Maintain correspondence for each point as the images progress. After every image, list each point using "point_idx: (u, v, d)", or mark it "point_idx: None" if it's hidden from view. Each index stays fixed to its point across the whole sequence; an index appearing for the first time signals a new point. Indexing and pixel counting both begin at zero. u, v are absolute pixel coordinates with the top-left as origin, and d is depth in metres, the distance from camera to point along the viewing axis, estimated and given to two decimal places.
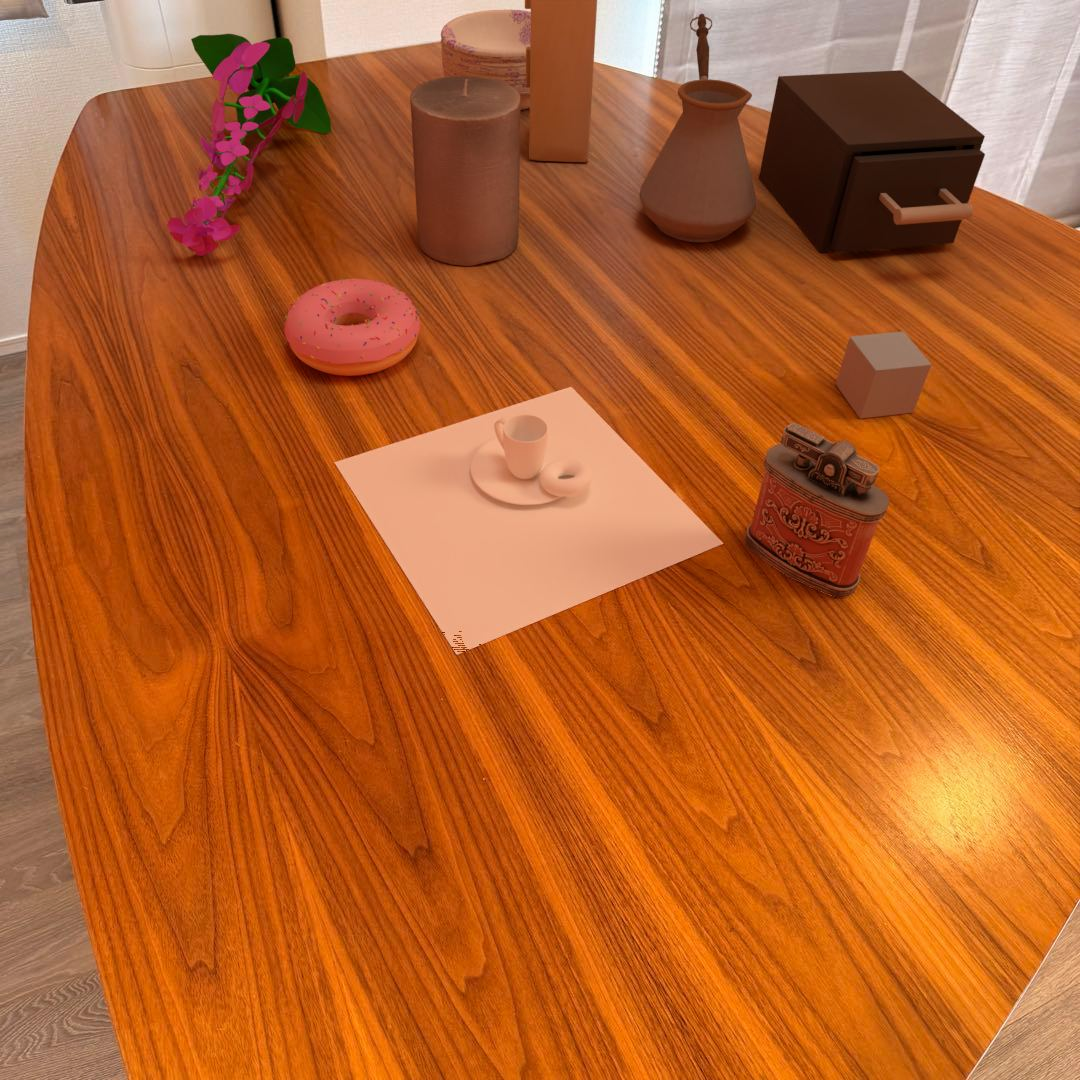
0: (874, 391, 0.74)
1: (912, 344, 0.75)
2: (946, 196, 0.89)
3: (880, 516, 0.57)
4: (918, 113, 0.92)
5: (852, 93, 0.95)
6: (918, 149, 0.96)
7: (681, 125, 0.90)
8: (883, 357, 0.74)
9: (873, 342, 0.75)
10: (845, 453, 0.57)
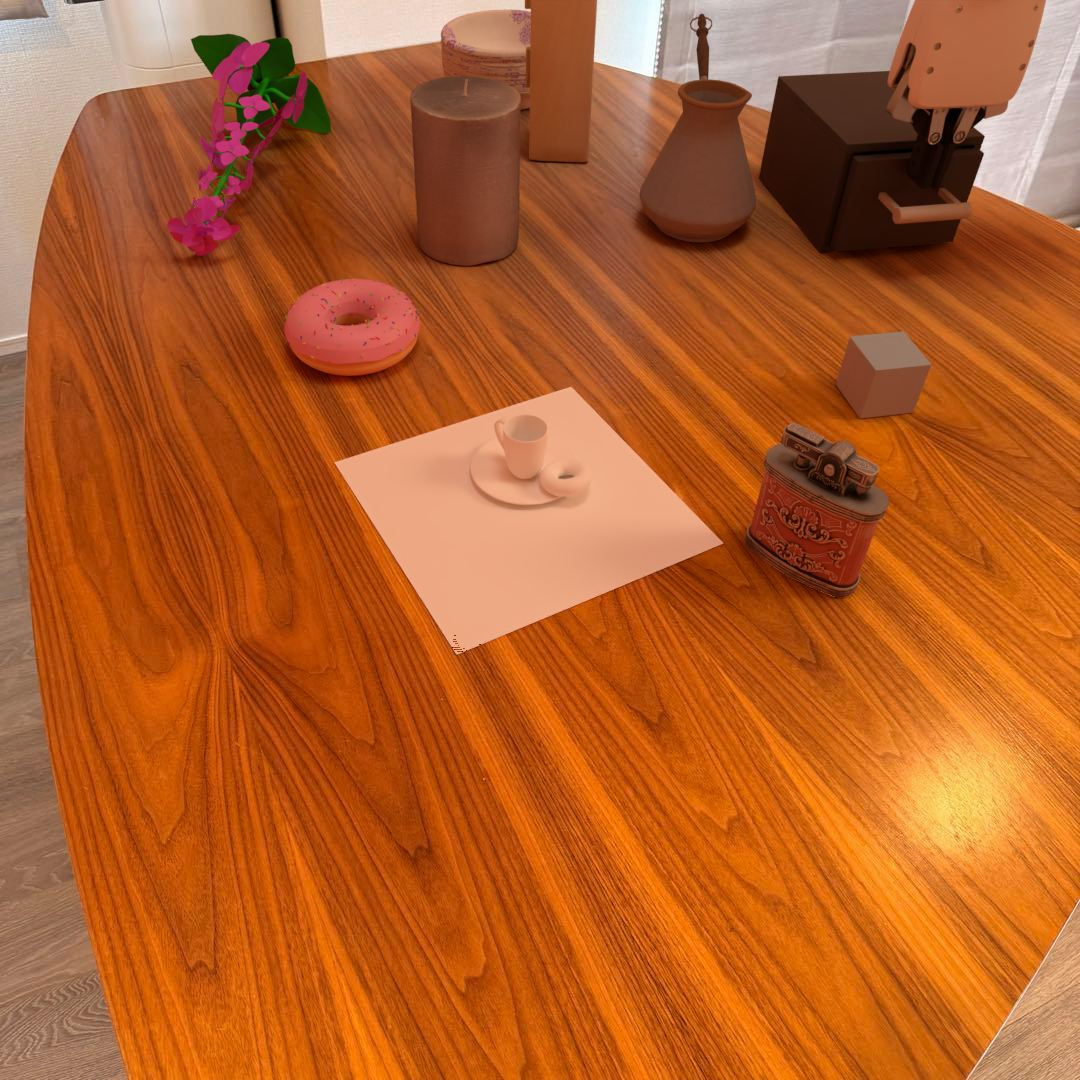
0: (874, 391, 0.74)
1: (912, 344, 0.75)
2: (945, 195, 0.89)
3: (880, 516, 0.57)
4: None
5: (852, 93, 0.95)
6: None
7: (681, 125, 0.90)
8: (883, 357, 0.74)
9: (873, 342, 0.75)
10: (845, 453, 0.57)
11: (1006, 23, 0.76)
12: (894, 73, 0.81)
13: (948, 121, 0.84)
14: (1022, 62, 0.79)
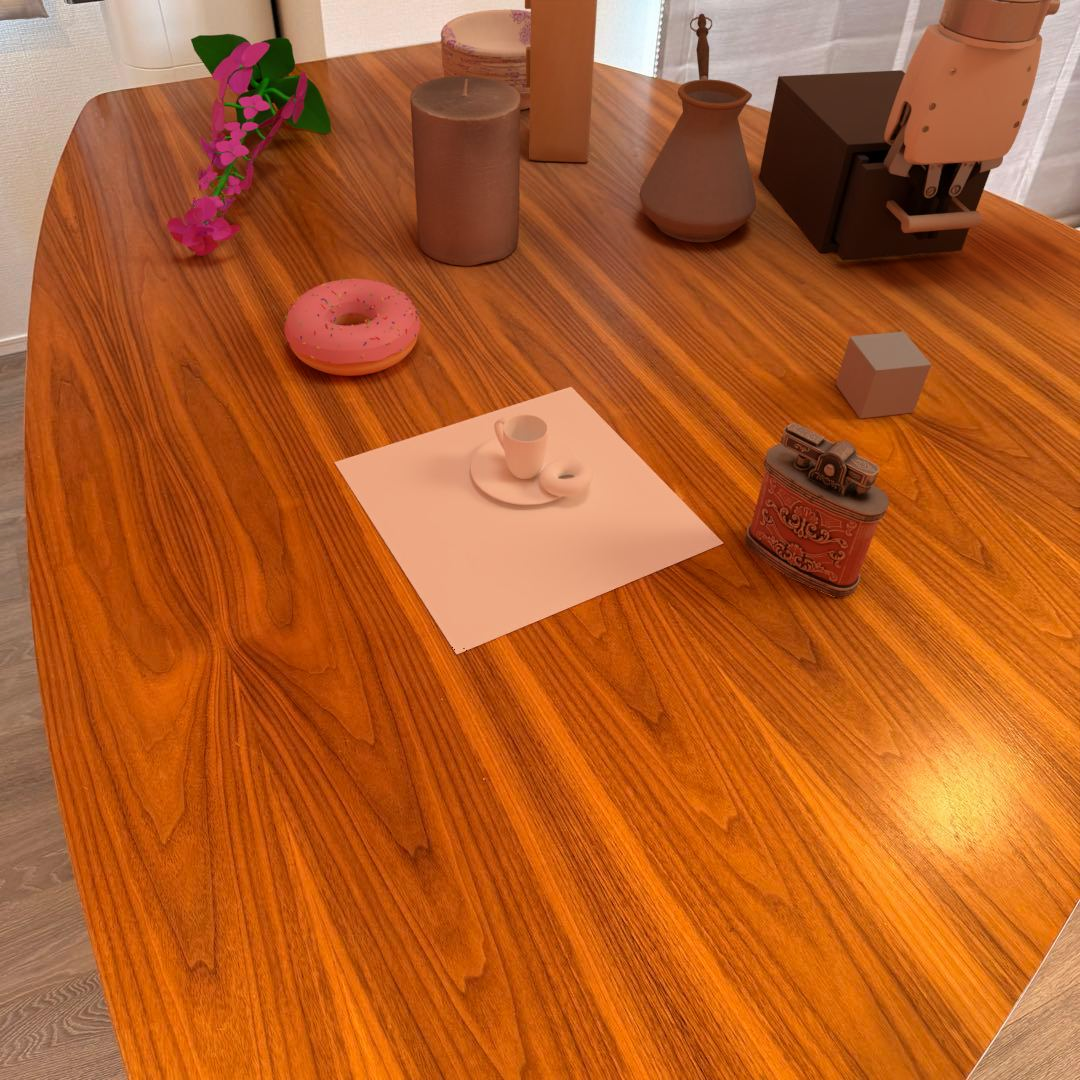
0: (874, 391, 0.74)
1: (912, 344, 0.75)
2: (954, 204, 0.88)
3: (880, 516, 0.57)
4: None
5: (852, 93, 0.95)
6: None
7: (681, 125, 0.90)
8: (883, 357, 0.74)
9: (873, 342, 0.75)
10: (845, 453, 0.57)
11: (1000, 84, 0.77)
12: (891, 129, 0.82)
13: (944, 174, 0.86)
14: (1016, 120, 0.80)
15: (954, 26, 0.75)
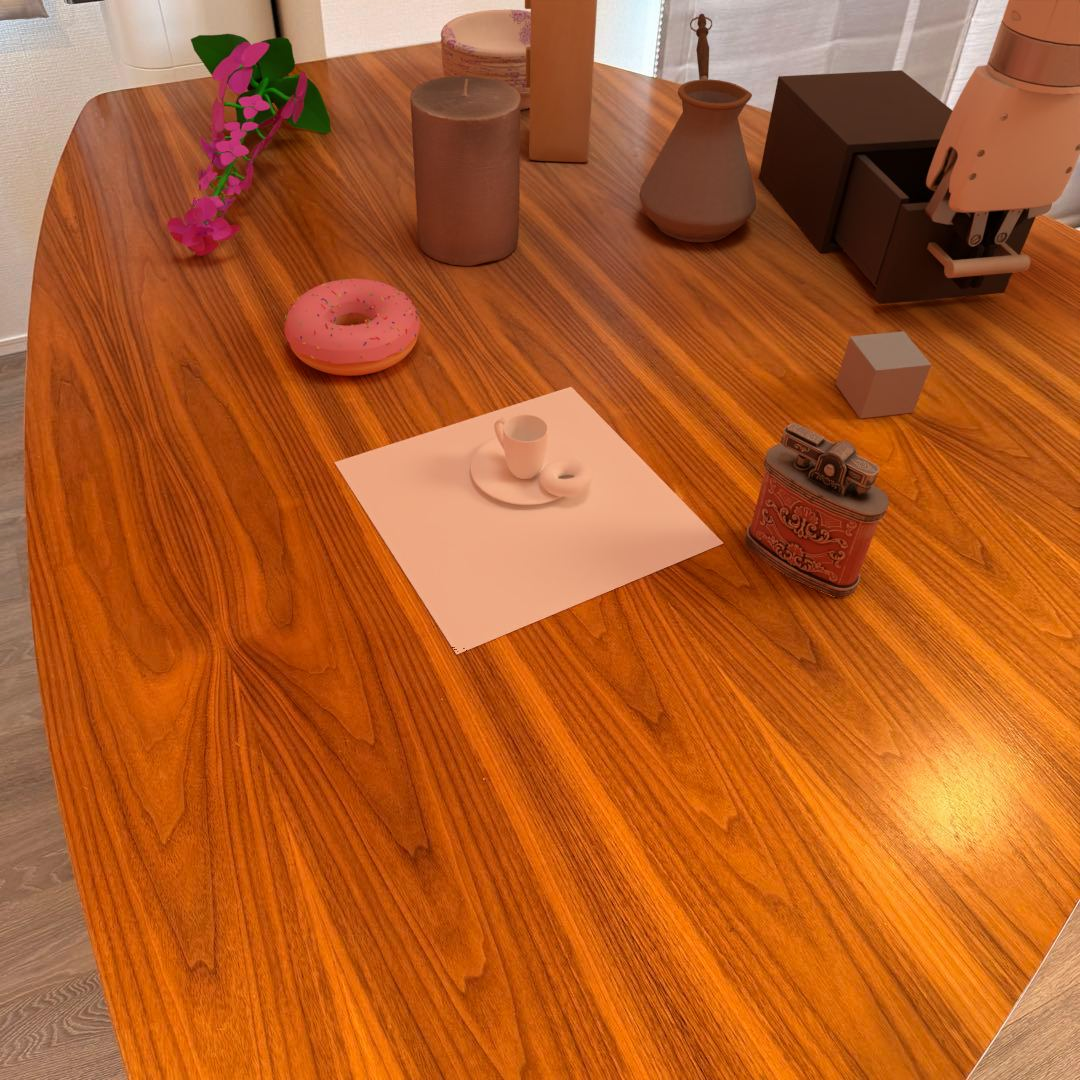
0: (874, 391, 0.74)
1: (912, 344, 0.75)
2: (1000, 245, 0.83)
3: (880, 516, 0.57)
4: (918, 113, 0.92)
5: (852, 93, 0.95)
6: None
7: (681, 125, 0.90)
8: (883, 357, 0.74)
9: (873, 342, 0.75)
10: (845, 453, 0.57)
11: (1053, 129, 0.72)
12: (934, 175, 0.77)
13: (989, 220, 0.81)
14: (1068, 165, 0.75)
15: (1006, 69, 0.70)
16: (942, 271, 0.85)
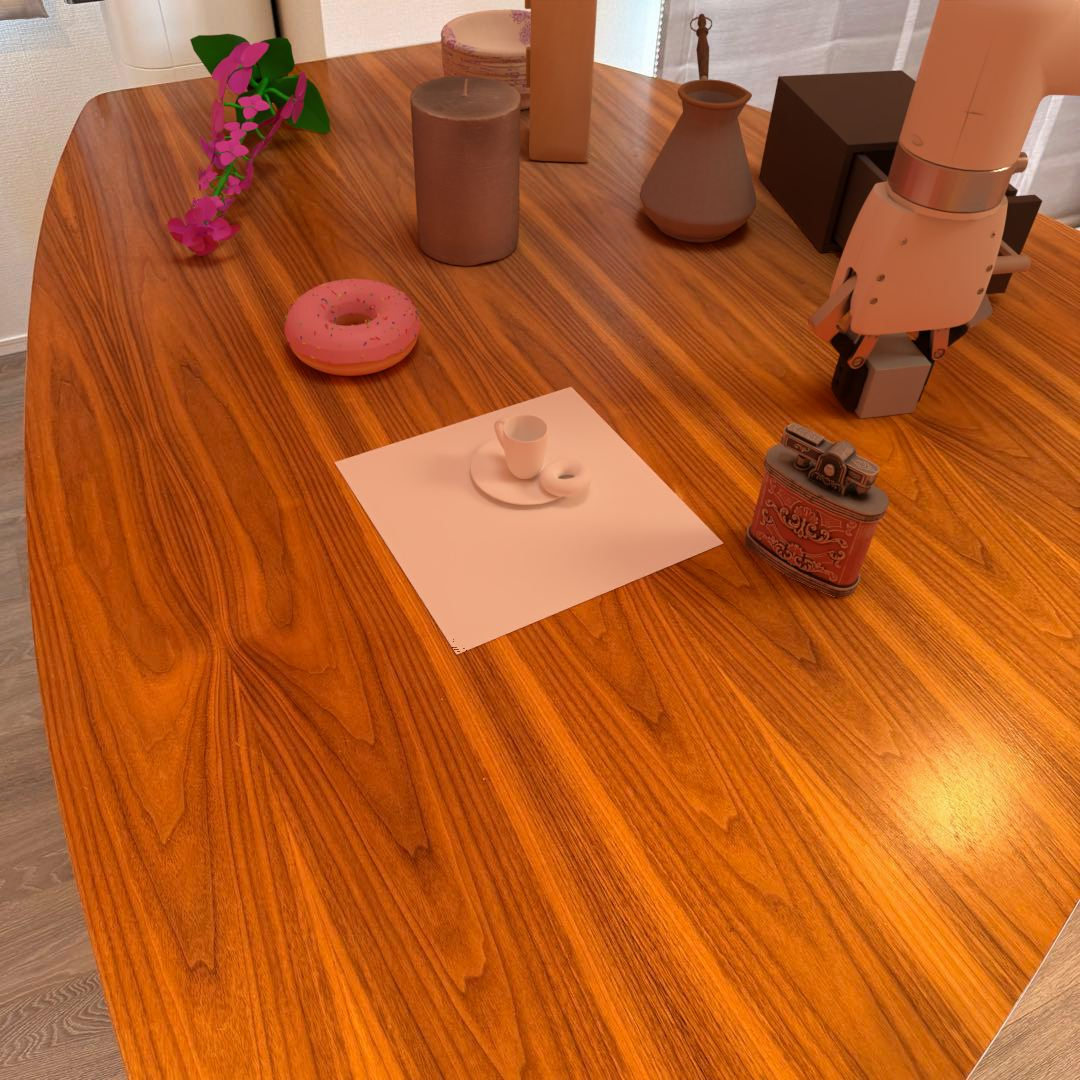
0: (874, 391, 0.74)
1: (912, 344, 0.75)
2: (1000, 246, 0.83)
3: (880, 516, 0.57)
4: None
5: (852, 93, 0.95)
6: None
7: (681, 125, 0.90)
8: (883, 357, 0.74)
9: None
10: (845, 453, 0.57)
11: (959, 252, 0.66)
12: None
13: (926, 333, 0.75)
14: (980, 287, 0.69)
15: (903, 191, 0.64)
16: None
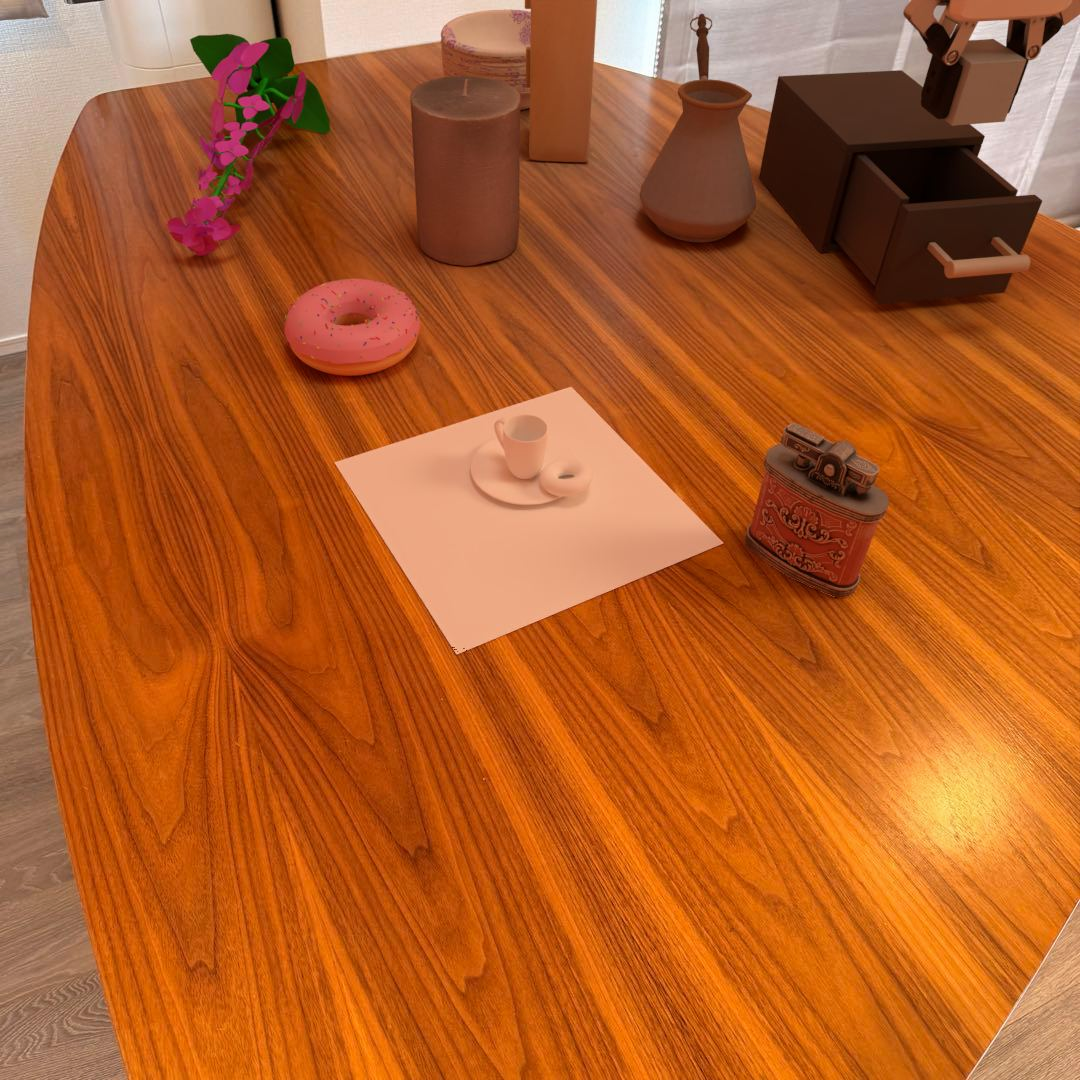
0: (968, 91, 0.73)
1: (1004, 47, 0.74)
2: (1000, 246, 0.83)
3: (880, 516, 0.57)
4: (918, 113, 0.92)
5: (852, 93, 0.95)
6: (966, 191, 0.89)
7: (681, 125, 0.90)
8: (977, 55, 0.73)
9: None
10: (845, 453, 0.57)
11: None
12: None
13: (1019, 35, 0.74)
14: None
15: None
16: (942, 271, 0.85)
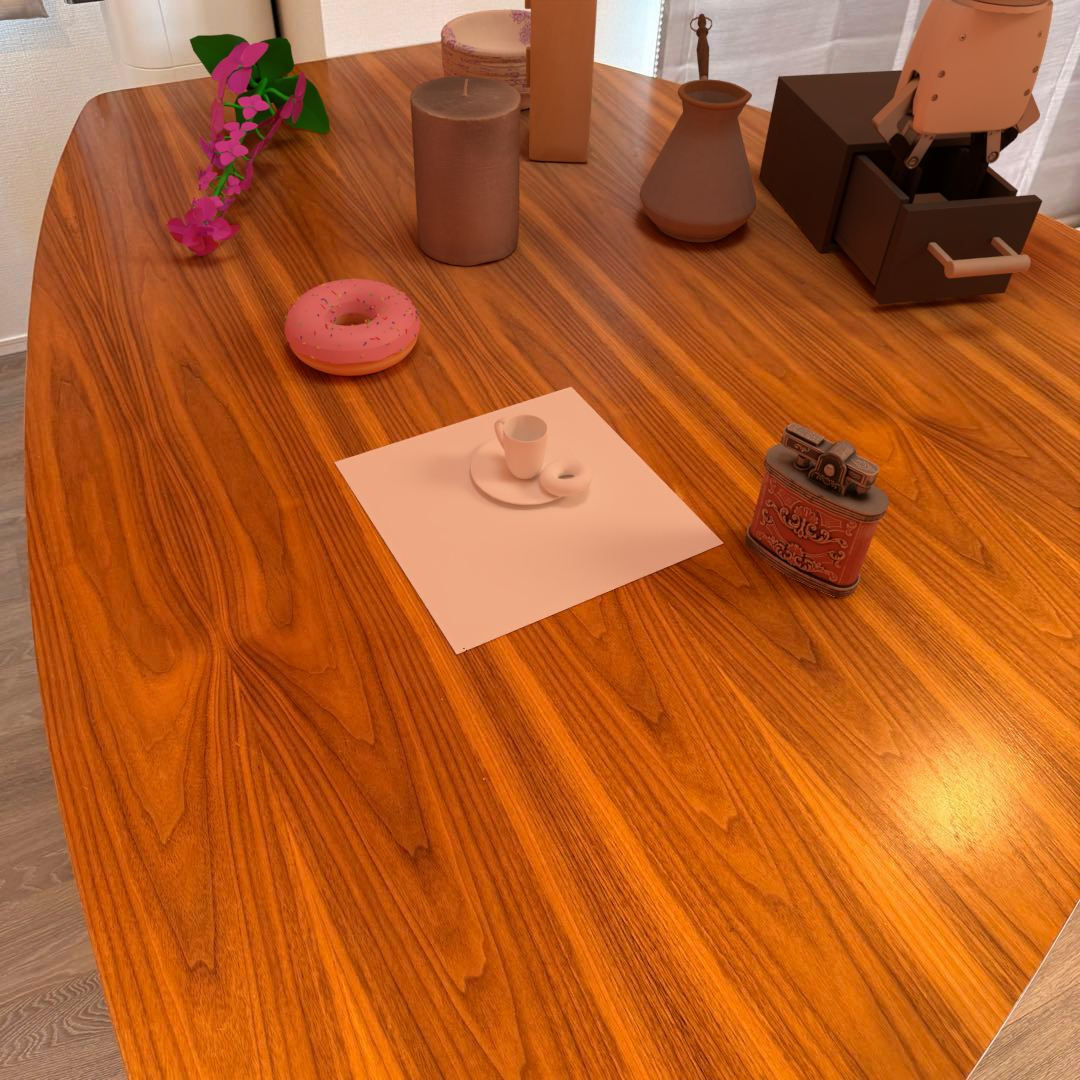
0: None
1: None
2: (1000, 246, 0.83)
3: (880, 516, 0.57)
4: None
5: (852, 93, 0.95)
6: None
7: (681, 125, 0.90)
8: None
9: (914, 200, 0.88)
10: (845, 453, 0.57)
11: (1010, 50, 0.76)
12: None
13: (981, 141, 0.84)
14: (1026, 88, 0.79)
15: None
16: (942, 271, 0.85)
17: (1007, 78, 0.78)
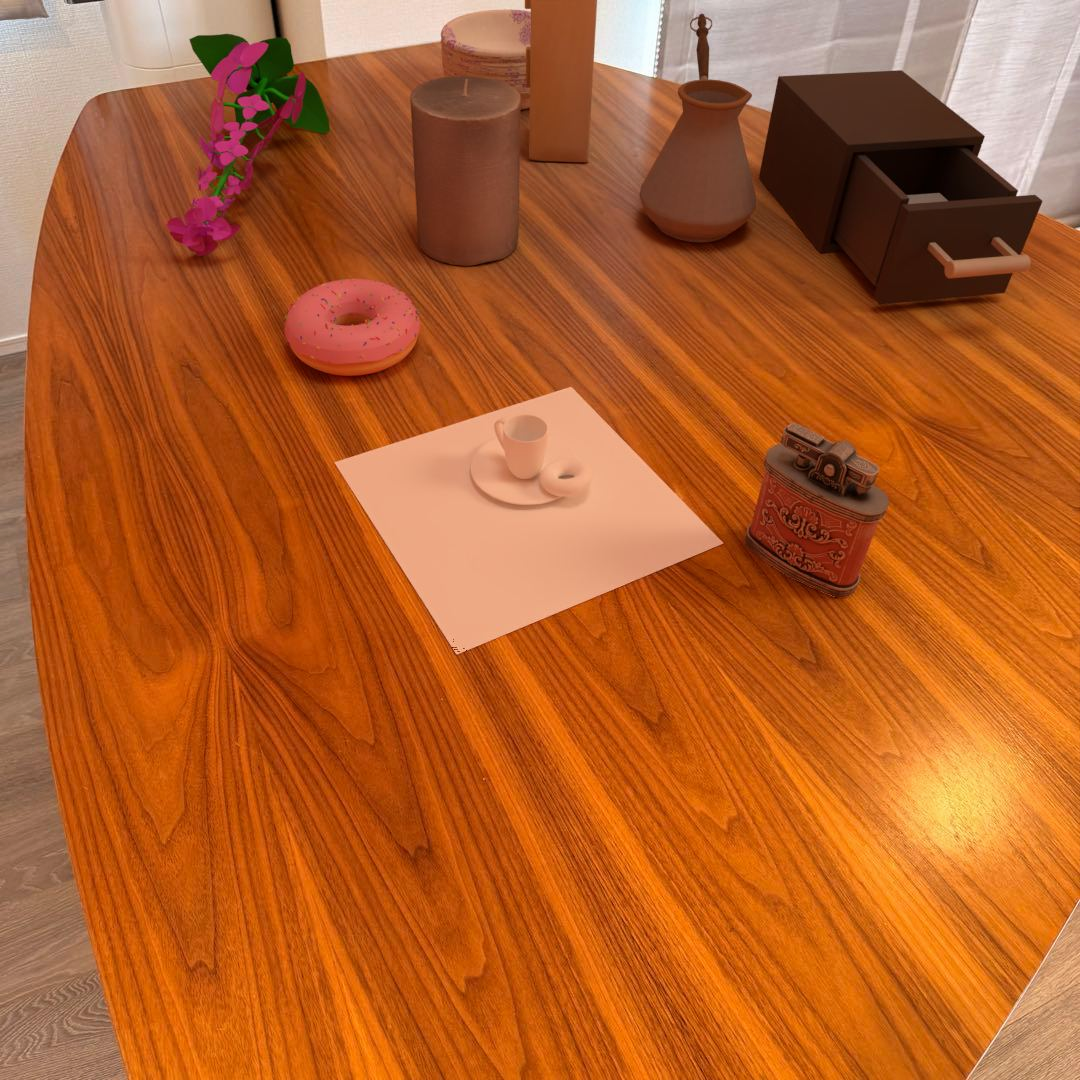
0: None
1: None
2: (1000, 246, 0.83)
3: (880, 516, 0.57)
4: (918, 113, 0.92)
5: (852, 93, 0.95)
6: (966, 192, 0.89)
7: (681, 125, 0.90)
8: None
9: (914, 200, 0.88)
10: (845, 453, 0.57)
11: None
12: None
13: None
14: None
15: None
16: (942, 271, 0.85)
17: None
